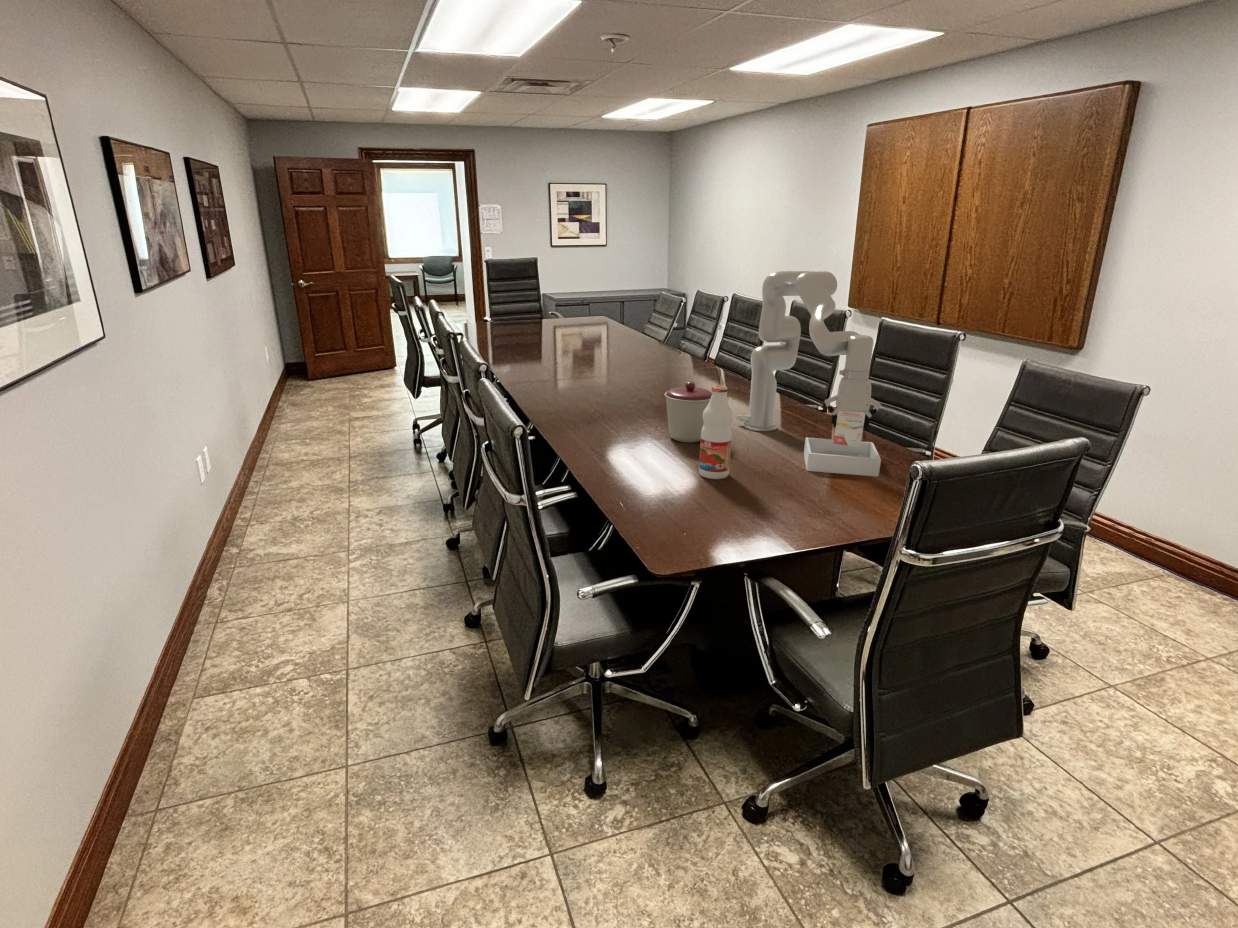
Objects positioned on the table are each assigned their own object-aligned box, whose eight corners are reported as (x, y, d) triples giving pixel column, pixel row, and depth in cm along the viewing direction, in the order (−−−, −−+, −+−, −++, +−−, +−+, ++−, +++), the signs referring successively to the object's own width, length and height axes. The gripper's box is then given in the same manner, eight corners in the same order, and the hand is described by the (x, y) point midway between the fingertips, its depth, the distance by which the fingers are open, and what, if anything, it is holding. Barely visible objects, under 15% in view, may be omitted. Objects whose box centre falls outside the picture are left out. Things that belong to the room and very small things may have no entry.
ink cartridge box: (833, 444, 225) (838, 400, 220) (833, 439, 229) (839, 396, 224) (860, 447, 222) (867, 402, 217) (861, 442, 226) (867, 399, 221)
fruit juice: (734, 475, 217) (741, 387, 207) (715, 482, 211) (722, 392, 201) (711, 467, 223) (717, 382, 214) (692, 473, 217) (697, 386, 208)
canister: (718, 435, 256) (722, 379, 249) (703, 449, 241) (706, 390, 234) (672, 429, 264) (675, 374, 257) (655, 441, 248) (657, 384, 241)
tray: (806, 470, 222) (808, 453, 220) (803, 453, 238) (805, 437, 237) (878, 476, 218) (881, 459, 216) (870, 458, 235) (872, 442, 233)
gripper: (828, 375, 216) (822, 428, 222) (887, 379, 213) (879, 432, 219) (826, 371, 223) (820, 422, 229) (883, 374, 220) (875, 426, 225)
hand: (849, 427), depth 224 cm, fingers closed on ink cartridge box, 9 cm apart
